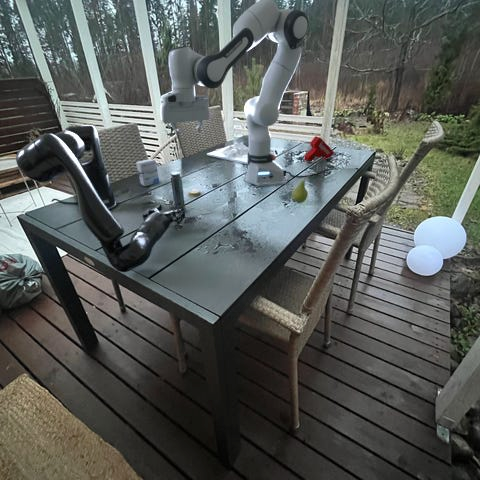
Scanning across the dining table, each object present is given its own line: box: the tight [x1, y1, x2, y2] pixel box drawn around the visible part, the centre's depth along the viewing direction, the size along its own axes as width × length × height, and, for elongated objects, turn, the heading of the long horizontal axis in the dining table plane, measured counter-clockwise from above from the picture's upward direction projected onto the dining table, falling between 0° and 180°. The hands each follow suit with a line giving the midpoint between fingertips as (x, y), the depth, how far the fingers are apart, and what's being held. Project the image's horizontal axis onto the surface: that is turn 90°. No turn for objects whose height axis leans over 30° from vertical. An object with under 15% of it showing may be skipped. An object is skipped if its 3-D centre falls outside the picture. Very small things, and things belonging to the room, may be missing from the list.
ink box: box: [135, 158, 160, 187], centre depth 139 cm, size 8×5×12 cm, turn 135°
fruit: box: [291, 174, 311, 204], centre depth 118 cm, size 7×8×12 cm
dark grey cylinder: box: [170, 171, 187, 215], centre depth 110 cm, size 4×4×17 cm
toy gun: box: [303, 135, 335, 164], centre depth 171 cm, size 18×4×15 cm
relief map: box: [206, 141, 272, 165], centre depth 185 cm, size 27×35×5 cm
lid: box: [188, 188, 201, 197], centre depth 129 cm, size 5×5×2 cm
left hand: (171, 207), depth 104 cm, fingers open, 8 cm apart
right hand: (188, 133), depth 115 cm, fingers open, 8 cm apart
